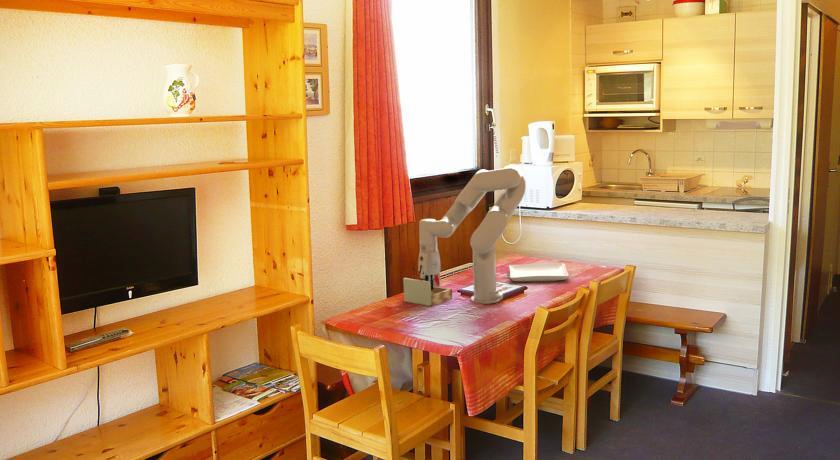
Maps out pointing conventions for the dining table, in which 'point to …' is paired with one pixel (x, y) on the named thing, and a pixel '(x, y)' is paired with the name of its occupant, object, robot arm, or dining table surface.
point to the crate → (440, 295)
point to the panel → (417, 291)
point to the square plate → (538, 272)
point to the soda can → (436, 280)
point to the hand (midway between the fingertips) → (429, 289)
